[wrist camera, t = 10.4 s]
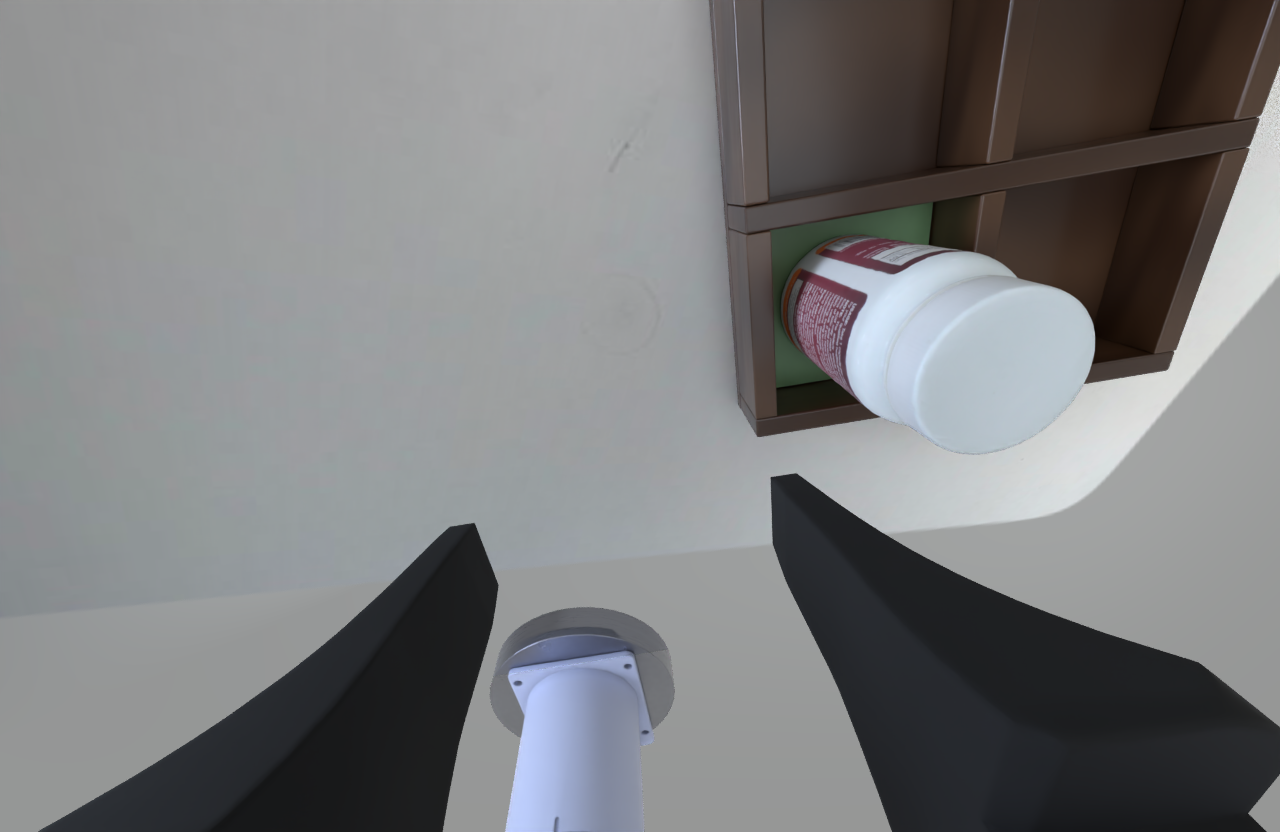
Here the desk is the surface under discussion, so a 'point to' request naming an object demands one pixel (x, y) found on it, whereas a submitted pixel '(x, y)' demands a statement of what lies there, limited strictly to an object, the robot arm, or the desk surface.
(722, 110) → the tray
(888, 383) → the pill bottle
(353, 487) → the desk surface
